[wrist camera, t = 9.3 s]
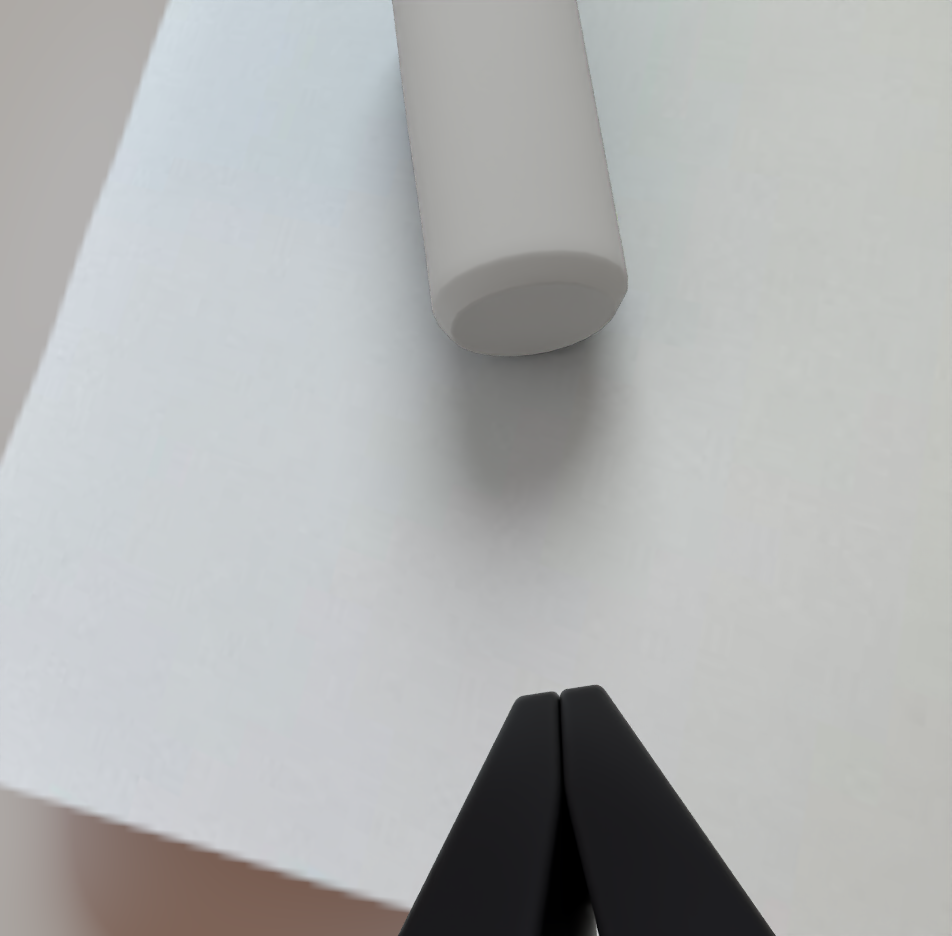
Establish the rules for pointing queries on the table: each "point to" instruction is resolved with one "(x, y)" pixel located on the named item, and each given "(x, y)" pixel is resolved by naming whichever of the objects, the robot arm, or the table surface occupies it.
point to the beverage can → (509, 173)
